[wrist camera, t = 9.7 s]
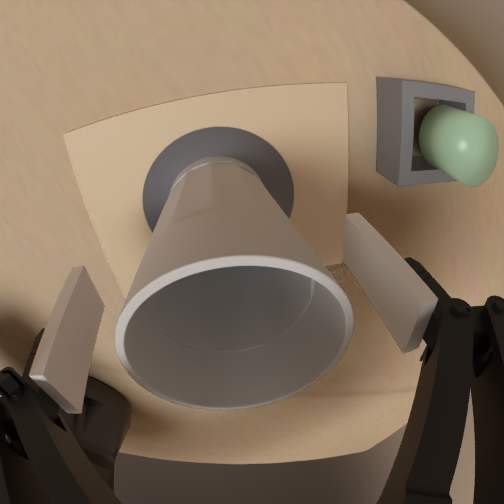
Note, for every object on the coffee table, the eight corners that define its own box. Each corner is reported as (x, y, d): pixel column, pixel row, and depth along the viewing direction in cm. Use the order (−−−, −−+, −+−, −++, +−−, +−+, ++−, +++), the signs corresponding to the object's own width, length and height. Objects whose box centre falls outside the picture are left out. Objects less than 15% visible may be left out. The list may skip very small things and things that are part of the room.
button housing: (376, 170, 20) (397, 186, 18) (376, 76, 16) (401, 80, 14) (443, 166, 20) (466, 179, 18) (448, 85, 16) (474, 91, 14)
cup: (149, 148, 17) (78, 268, 7) (280, 140, 18) (380, 244, 8) (165, 258, 21) (150, 414, 11) (275, 249, 22) (329, 395, 12)
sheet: (127, 298, 23) (126, 303, 23) (65, 133, 15) (62, 134, 15) (342, 260, 24) (344, 263, 24) (343, 82, 16) (347, 83, 16)
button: (416, 168, 17) (450, 189, 14) (419, 102, 14) (458, 114, 11) (459, 165, 17) (492, 185, 14) (465, 107, 15) (501, 120, 12)
